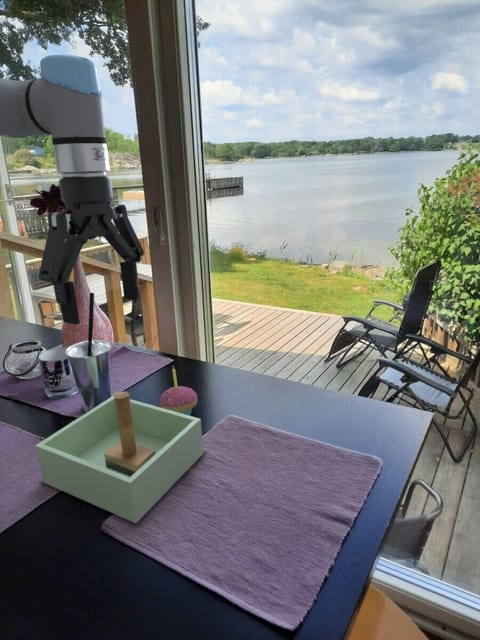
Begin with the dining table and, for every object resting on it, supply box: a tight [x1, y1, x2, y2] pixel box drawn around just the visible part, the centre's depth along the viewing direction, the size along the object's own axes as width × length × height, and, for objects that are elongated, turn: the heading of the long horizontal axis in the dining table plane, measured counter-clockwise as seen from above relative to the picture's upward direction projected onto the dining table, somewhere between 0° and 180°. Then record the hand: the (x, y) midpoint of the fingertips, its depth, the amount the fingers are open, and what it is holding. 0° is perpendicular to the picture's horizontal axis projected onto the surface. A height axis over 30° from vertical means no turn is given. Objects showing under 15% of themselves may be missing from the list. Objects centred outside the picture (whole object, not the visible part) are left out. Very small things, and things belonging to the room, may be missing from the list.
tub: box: [34, 395, 204, 524], centre depth 83 cm, size 22×20×8 cm
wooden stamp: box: [104, 391, 155, 476], centre depth 80 cm, size 8×5×15 cm, turn 62°
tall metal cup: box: [64, 292, 112, 414], centre depth 100 cm, size 11×11×30 cm
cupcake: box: [159, 365, 198, 416], centre depth 98 cm, size 9×8×12 cm
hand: (103, 309), depth 73 cm, fingers open, 13 cm apart
